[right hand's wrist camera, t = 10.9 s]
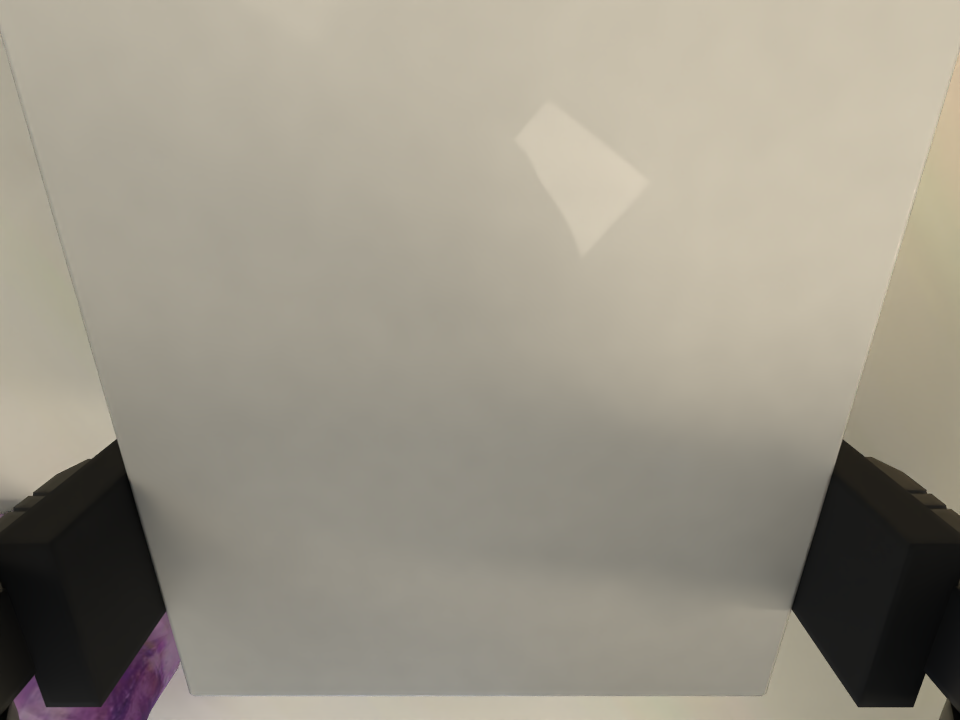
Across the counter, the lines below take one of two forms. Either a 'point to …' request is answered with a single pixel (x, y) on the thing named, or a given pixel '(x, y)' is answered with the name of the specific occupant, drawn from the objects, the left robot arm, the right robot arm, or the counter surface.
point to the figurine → (131, 695)
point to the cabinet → (480, 317)
